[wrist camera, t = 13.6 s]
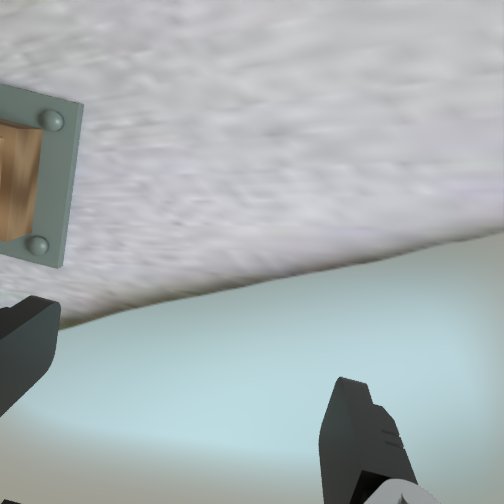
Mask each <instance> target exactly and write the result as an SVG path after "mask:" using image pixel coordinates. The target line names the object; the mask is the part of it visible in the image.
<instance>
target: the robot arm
mask: <svg viewBox="0 0 504 504" xmlns="http://www.w3.org/2000/svg"><path fill="white" fill-rule="evenodd" d="M60 313H61V306H60V303H59V302H56V301H52V300H48V299H45V298H41V297H37V296H33V295H32V296H29V297H27V298H25V299H24V300H22V301H21V302H19V303H17V304H16V305H14V306H12V307H11V308H9V307H4V308H1V309H0V417H1V416H2V415H3V414H4V413H5V412H6V411H7V410H8V409H9V408H10V407H11V406H12V405H13V404H14V403H15V402H16V401H17V400H18V399H20V398H21V397H22V396H23V395H24V394H25V392H27V391H28V390H29V389H30V388H31V387H32V386H33V385H34V384H35V383H36V382H37V381H38V380H39V379H40V378H41V377H42V376H43V375H44V374H45V373H46V372H47V371H48V369H49V367H50V365H51V363H52V361H53V358H54V355H55V350H56V343H57V335H58V328H59V320H60ZM403 447H404V446H403V443H402V440H401V437H399V432H398V429H397V427H396V424H395V421H394V420H393V418H392V417H391V416H390V415H389V414H388V413H387V411H386V410H385V409H384V408H383V407H382V406H379V405H375V404H373V402H372V399H371V395H370V392H369V389H368V386H367V384H366V383H362V382H359V381H355V380H351V379H347V378H343V377H339V378H338V379H337V381H336V383H335V387H334V389H333V392H332V395H331V398H330V401H329V404H328V408H327V410H326V413H325V416H324V419H323V422H322V425H321V430H320V435H319V456H320V466H321V477H322V487H323V497H324V504H440V503H439V502H438V500H437V499H436V498H435V497H434V496H433V495H432V494H430V493H429V492H428V491H426V490H425V489H423V488H421V487H420V486H418V483H417V480H416V478H415V475H414V472H413V470H412V467H411V464H410V461H409V459H408V456H407V453H406V451H405V449H403ZM1 504H20V503H17V502H13V501H9V500H5V499H4V501H3V502H2V503H1Z"/></svg>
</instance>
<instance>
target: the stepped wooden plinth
mask: <svg viewBox="0 0 504 504" xmlns="http://www.w3.org/2000/svg"><path fill="white" fill-rule="evenodd" d="M42 134H43V129H39V128H35V127H31V126H27V125H23V124H19V123H16V122H12V121H8V120H4V119H0V241H4V242H8V241H11V240H13V239H16V238H19V237H21V236H24V235H27V234H29V233H32V226H33V216H34V207H35V198H36V189H37V180H38V171H39V162H40V153H41V143H42Z"/></svg>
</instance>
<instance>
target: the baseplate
mask: <svg viewBox="0 0 504 504" xmlns="http://www.w3.org/2000/svg"><path fill="white" fill-rule="evenodd" d="M83 107H84V105H82V104H79V103H75V102H71V101H67V100H63V99H59V98H55V97H51V96H47V95H43V94H39V93H35V92H31V91H27V90H23V89H20V88H16V87H12V86H8V85H4V84H0V119H4V120H8V121H12V122H16V123H19V124H23V125H27V126H31V127H35V128H39V129H43V134H42V143H41V153H40V162H39V171H38V180H37V189H36V198H35V207H34V216H33V226H32V233H29V234H27V235H24V236H21V237H19V238H16V239H13V240H11V241H8V242H4V241H0V254H3V255H7V256H11V257H15V258H18V259H22V260H26V261H30V262H34V263H38V264H41V265H45V266H49V267H53V268H57V269H58V268H60V267H61V266H63V259H64V251H65V244H66V236H67V228H68V221H69V213H70V206H71V198H72V191H73V183H74V175H75V168H76V160H77V153H78V145H79V137H80V130H81V122H82V115H83Z"/></svg>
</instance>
